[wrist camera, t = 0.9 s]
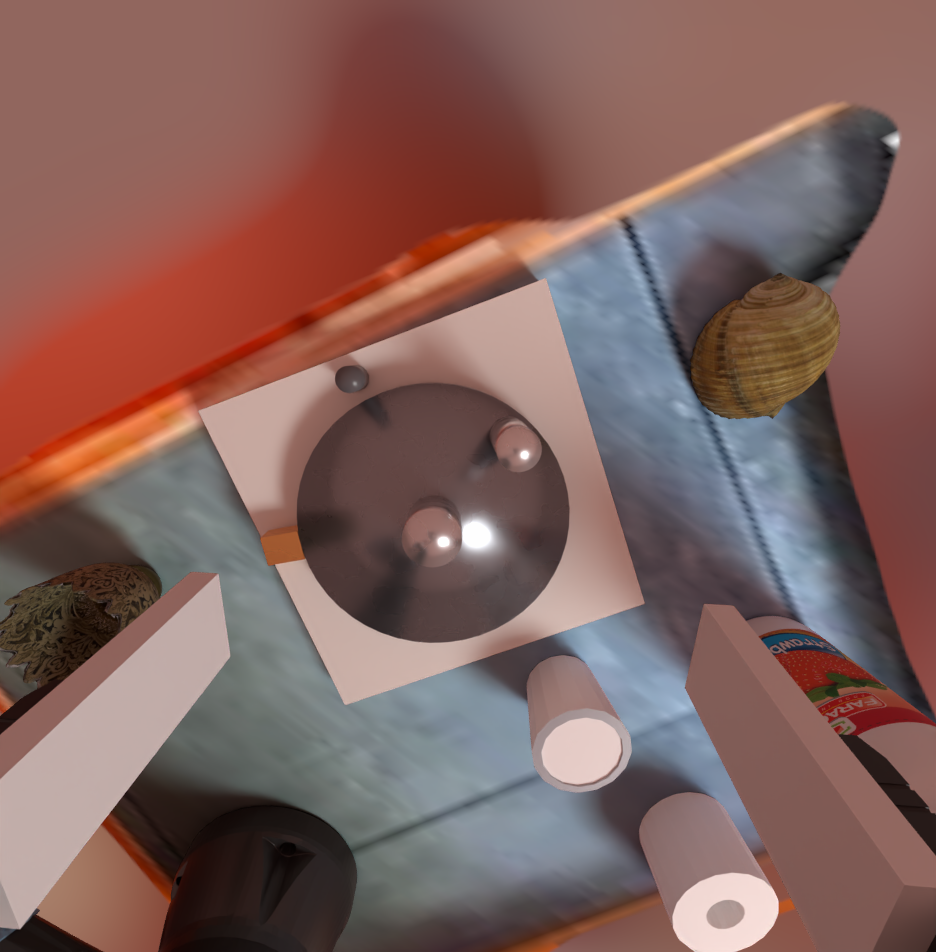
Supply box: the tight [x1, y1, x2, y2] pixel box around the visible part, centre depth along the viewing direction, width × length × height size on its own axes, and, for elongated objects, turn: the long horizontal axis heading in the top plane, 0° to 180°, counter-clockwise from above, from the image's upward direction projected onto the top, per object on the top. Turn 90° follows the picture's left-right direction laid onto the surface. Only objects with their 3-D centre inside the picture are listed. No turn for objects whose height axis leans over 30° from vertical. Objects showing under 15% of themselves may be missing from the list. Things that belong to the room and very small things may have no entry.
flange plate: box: [260, 382, 570, 643], centre depth 30 cm, size 18×20×7 cm
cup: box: [0, 563, 162, 689], centre depth 33 cm, size 8×7×8 cm
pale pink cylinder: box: [526, 655, 632, 793], centre depth 36 cm, size 7×7×7 cm
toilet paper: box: [639, 792, 778, 952], centre depth 41 cm, size 8×11×7 cm
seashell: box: [690, 273, 840, 419], centre depth 32 cm, size 10×7×8 cm
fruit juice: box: [746, 616, 936, 814], centre depth 26 cm, size 9×9×28 cm
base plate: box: [198, 278, 645, 705], centre depth 33 cm, size 24×24×5 cm
